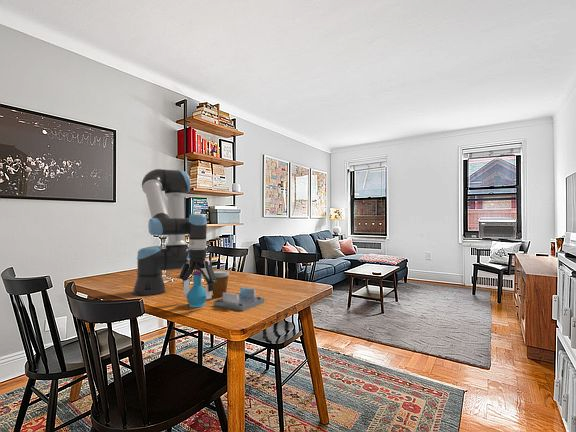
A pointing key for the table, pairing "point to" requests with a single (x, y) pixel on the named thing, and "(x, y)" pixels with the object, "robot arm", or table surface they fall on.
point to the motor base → (239, 300)
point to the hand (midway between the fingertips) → (197, 296)
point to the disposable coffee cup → (220, 282)
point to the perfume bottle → (197, 291)
